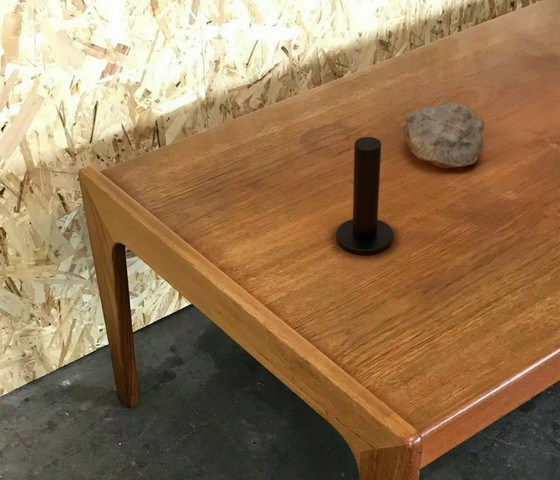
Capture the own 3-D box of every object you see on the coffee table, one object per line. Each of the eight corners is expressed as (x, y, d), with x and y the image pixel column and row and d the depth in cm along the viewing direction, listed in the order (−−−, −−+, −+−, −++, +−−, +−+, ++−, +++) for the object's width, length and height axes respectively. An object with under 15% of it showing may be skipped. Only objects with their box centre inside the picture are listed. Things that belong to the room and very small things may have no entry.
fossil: (483, 174, 107) (434, 130, 102) (436, 199, 113) (388, 158, 108) (493, 111, 112) (446, 66, 108) (447, 137, 119) (401, 96, 114)
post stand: (393, 223, 101) (399, 128, 91) (392, 256, 96) (398, 159, 86) (338, 221, 101) (338, 127, 92) (334, 254, 96) (334, 158, 87)
